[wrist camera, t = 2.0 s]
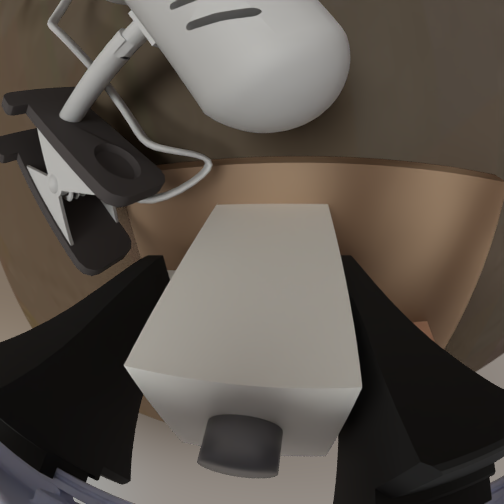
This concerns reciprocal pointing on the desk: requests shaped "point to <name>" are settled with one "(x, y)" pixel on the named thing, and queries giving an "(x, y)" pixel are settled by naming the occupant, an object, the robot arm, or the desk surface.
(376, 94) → the desk surface
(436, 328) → the board
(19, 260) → the desk surface
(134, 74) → the desk surface
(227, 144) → the desk surface
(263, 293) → the connector plug
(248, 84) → the clip-on lamp
